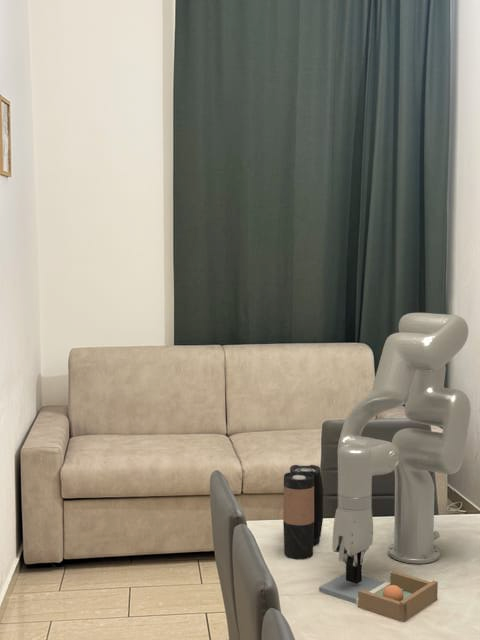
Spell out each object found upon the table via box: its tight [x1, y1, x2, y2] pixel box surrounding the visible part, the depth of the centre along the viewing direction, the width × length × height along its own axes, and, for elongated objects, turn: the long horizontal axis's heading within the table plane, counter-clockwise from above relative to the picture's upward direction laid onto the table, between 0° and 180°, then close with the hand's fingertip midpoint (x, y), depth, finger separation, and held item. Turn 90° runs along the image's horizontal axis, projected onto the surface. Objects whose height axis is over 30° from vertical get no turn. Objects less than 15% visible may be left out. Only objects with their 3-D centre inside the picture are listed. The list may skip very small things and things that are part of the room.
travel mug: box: [282, 472, 314, 560], centre depth 211 cm, size 8×8×20 cm
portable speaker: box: [289, 464, 324, 547], centre depth 219 cm, size 9×9×20 cm
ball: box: [383, 585, 404, 601], centre depth 181 cm, size 4×4×4 cm
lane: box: [318, 570, 439, 623], centre depth 186 cm, size 14×22×4 cm, turn 49°
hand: (353, 580), depth 190 cm, fingers closed
